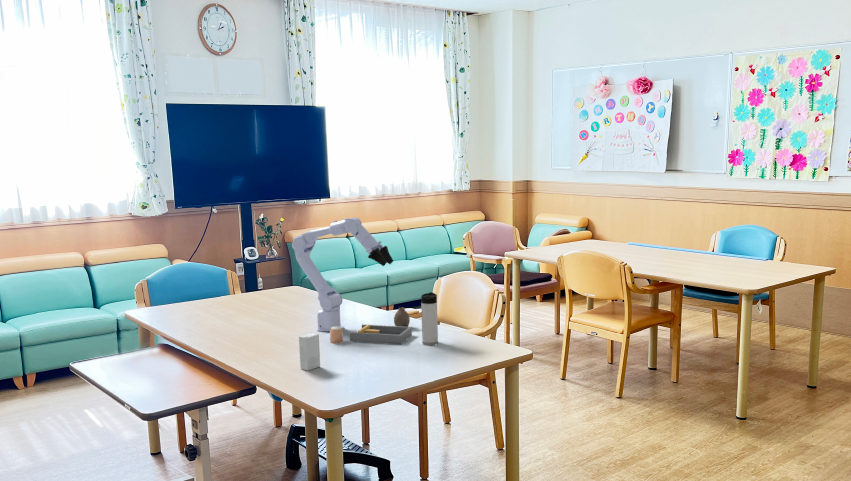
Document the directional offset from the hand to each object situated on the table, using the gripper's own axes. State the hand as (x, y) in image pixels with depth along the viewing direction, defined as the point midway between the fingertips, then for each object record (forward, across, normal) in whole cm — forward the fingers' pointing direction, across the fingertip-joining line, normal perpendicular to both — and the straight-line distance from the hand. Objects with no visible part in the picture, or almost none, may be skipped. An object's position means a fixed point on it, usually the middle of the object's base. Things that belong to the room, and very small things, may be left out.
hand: (388, 263), depth 284 cm
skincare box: (+15, -48, +32) cm, 60 cm away
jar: (+10, -14, +34) cm, 38 cm away
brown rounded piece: (+22, +13, +20) cm, 32 cm away
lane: (+20, -5, +23) cm, 31 cm away
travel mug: (+36, -7, +8) cm, 38 cm away
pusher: (+17, -5, +25) cm, 31 cm away
